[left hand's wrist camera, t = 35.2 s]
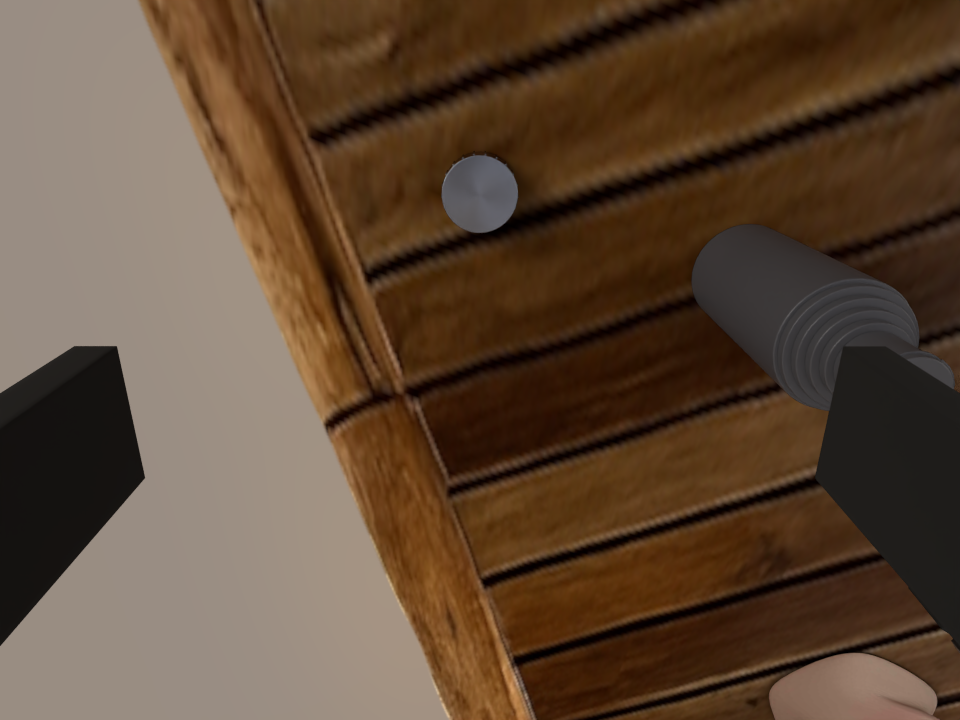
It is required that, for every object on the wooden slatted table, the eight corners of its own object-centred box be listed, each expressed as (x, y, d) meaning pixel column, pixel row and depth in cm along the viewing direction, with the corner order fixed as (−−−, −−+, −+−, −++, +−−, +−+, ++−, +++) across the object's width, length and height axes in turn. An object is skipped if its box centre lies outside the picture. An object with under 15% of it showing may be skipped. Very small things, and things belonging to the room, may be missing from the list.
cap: (508, 142, 40) (509, 145, 38) (523, 216, 42) (525, 224, 39) (434, 160, 40) (432, 164, 38) (453, 233, 42) (451, 241, 40)
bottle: (738, 341, 45) (896, 495, 28) (670, 281, 43) (793, 404, 26) (814, 268, 43) (1033, 385, 26) (746, 202, 41) (931, 280, 24)
